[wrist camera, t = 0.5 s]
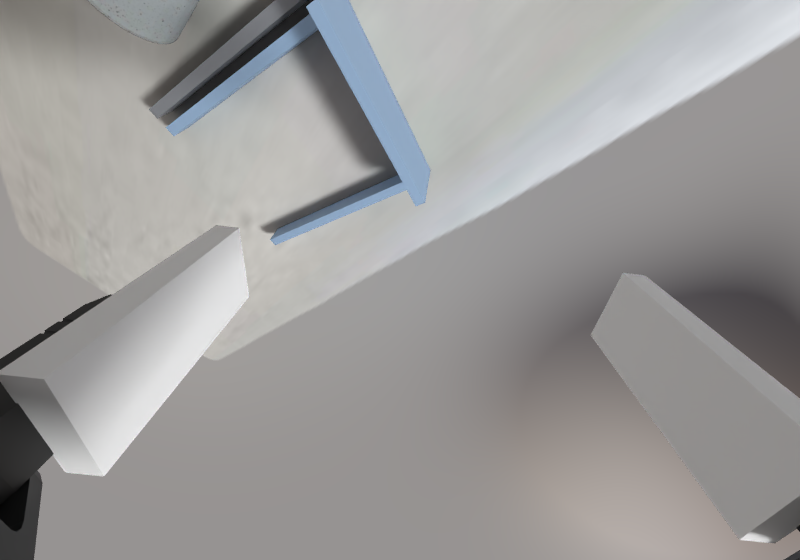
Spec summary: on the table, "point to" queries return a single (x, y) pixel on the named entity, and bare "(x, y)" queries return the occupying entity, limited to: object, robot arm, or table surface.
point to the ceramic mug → (149, 17)
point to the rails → (227, 54)
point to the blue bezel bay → (369, 89)
